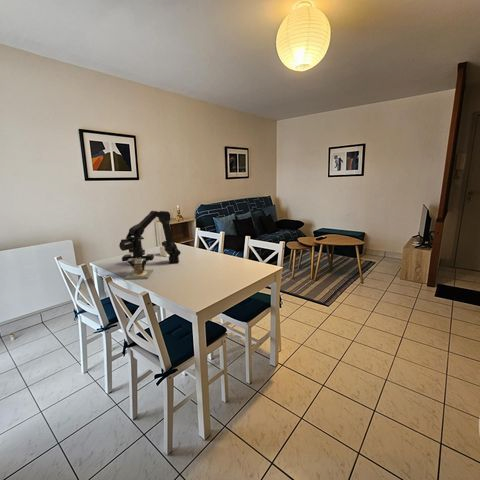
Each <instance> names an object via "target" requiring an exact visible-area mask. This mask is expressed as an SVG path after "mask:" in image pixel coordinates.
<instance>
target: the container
mask: <svg viewBox="0 0 480 480" xmlns="http://www.w3.org/2000/svg"><path fill="white" fill-rule="evenodd" d="M125 255H131V256H133V251H132V249H128V253H126V254H125ZM140 258H141V257H140ZM127 261H128V260H127ZM127 261H126V263H127V264H128V265H130V266H131V264H130V263H129V262H127ZM142 261H143V259H135V264H136V263H142Z"/></svg>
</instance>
